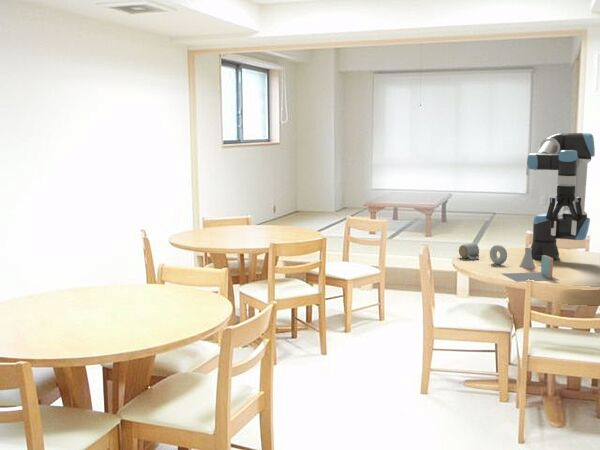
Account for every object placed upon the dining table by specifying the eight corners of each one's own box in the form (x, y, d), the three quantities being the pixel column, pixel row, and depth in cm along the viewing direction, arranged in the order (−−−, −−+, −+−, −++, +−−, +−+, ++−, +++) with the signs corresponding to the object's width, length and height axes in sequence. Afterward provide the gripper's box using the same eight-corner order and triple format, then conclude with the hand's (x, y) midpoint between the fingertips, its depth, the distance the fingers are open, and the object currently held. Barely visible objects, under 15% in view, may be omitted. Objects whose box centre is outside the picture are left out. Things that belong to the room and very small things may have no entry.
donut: (508, 265, 316) (509, 245, 315) (503, 266, 315) (504, 246, 313) (492, 262, 325) (493, 242, 323) (487, 263, 323) (488, 243, 322)
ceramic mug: (457, 256, 339) (458, 242, 337) (469, 255, 342) (470, 241, 341) (470, 261, 329) (471, 246, 328) (483, 259, 332) (483, 245, 331)
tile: (544, 274, 294) (545, 255, 293) (552, 277, 287) (553, 258, 286) (540, 274, 294) (542, 255, 292) (548, 278, 287) (549, 258, 286)
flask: (526, 270, 306) (528, 250, 304) (516, 267, 312) (517, 247, 311) (538, 269, 308) (539, 248, 307) (527, 266, 315) (528, 246, 314)
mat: (541, 273, 299) (541, 272, 299) (559, 281, 283) (559, 280, 283) (500, 275, 296) (500, 273, 296) (516, 283, 280) (516, 281, 280)
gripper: (584, 184, 290) (581, 233, 294) (539, 184, 288) (536, 234, 291) (594, 185, 283) (590, 235, 286) (547, 186, 280) (544, 237, 284)
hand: (563, 235), depth 289 cm, fingers open, 9 cm apart
